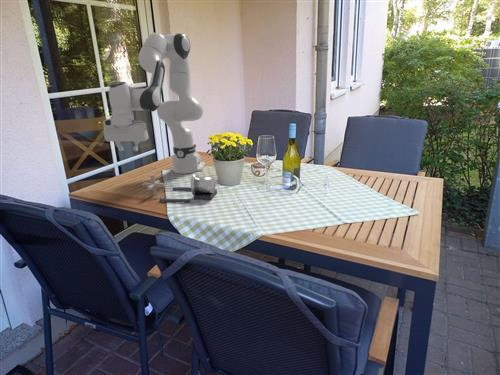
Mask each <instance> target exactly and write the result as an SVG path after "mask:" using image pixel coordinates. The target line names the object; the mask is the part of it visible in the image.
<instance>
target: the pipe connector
mask: <svg viewBox="0 0 500 375" xmlns="http://www.w3.org/2000/svg"><path fill="white" fill-rule="evenodd" d="M149 176H150V182H143V183H142V186H143V187H145V188H146V190H147V191H151V190H152V196H153V197H155V196H158V191H157V188H164V187H165V182H161V180H160V179H157V180H156V177H155V174H154V173H152V174H150V175H149Z"/></svg>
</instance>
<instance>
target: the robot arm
mask: <svg viewBox="0 0 500 375" xmlns="http://www.w3.org/2000/svg"><path fill="white" fill-rule="evenodd" d="M190 50H191V42H190V39H189V37H188V36H187V35H186V34H184V33H179V32H178V33H171V34H166V35H162V34H160V33H159V32H152V33H150V34H148V36H147V38H146V39H145V40H144V42H143V44H142V47H141V48H140V51H139V53H138V57H137V60H138V64H139V66H140V67H141V68H142V69H143V70H144V71H146V72H148V73H149V74H151V77H150V82H149V85H148V86H146V87H145V88H144V87H143V88H135V87H132V86H130V85H129V84H128V83H127V82H125V81H117V82H114V83H111V84H109V87H108V96H109V104H110V107H111V116H112V117H110V118H107V119H105V120H103V121H102V124H103V126H104V127H103V136H104V140H105V141H106V142H114V143H115V145H116V147H117V148H118V150H119V152H123V151H124V150H125V149H124V146H122V145H121V142H133V143H134V146H133V147H132V151H133V152H138V151H139V145H140V142H146V141H148V140H149V133H148V130H147V123H146V122H145V121H143V119H139V120H138V119H135V116H134V111H146V112H155V111H156V113H157V116H158V118H159V119H160V120H161V121H163V122H164V123H165V124H166V126H167V127H168V129H169V131H170V134H171V136H172V143H173V144H172V145H173V146H172V150H173V155H172V156H171V157H172V158H171V159H172V160H171V161H172V162H171V164H172V167H171V168H170V171H172V172H174V173H175V174H191V173H196V172H200V171H203V169H204V168H205V166H206V162H204V161H202V159H201V158H202V157H201V154H199V153H198V152H197V151H196V148H197V144H196V143H194V137H193V135H194V134H193V131H192V130H191V129H190V128H188V127H187V126H185V124H184V122H194V121H198V120H200V119H201V118H202V117H203V114H204V109H203V105H202V104H201V103H200V101H198V100H197V99H196V98H195V96H194V94H193V92H192V88H191V65H190V60H189V57H188V56H189V53H190V52H191V51H190ZM164 59H169V68H168V69H169V86H168V87H169V89H170V91H171V92H172V93H174V94H176V95H177V96H178V100H167V101H163V102H162V91H163V90H162V89H163V85H164V80H165V74H166V66H165V63H164Z"/></svg>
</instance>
